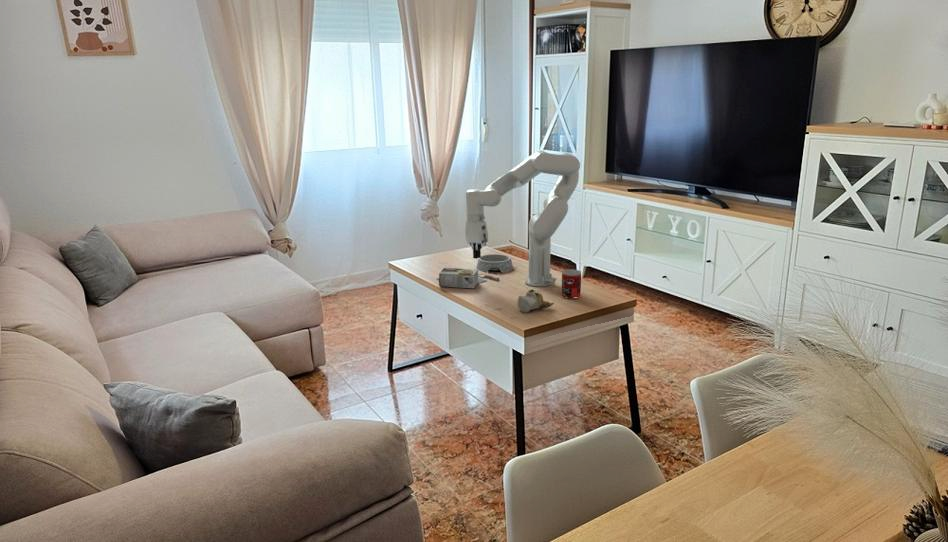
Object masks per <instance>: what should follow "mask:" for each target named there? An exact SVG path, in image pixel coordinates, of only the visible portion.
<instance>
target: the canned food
mask: <svg viewBox="0 0 948 542" xmlns="http://www.w3.org/2000/svg"><path fill="white" fill-rule="evenodd" d="M561 272H562V273H561V297H562V296H563V297H567V298H574V297H579V296H580V297H581V291H582V271H581V270H579V269H572V268H571V269H570V268H569V269H563V270H562V271H561ZM563 297H562V298H563ZM580 297H579V298H580Z"/></svg>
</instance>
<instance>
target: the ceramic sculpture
mask: <svg viewBox="0 0 948 542" xmlns="http://www.w3.org/2000/svg"><path fill="white" fill-rule="evenodd" d="M554 304H555V303H554V302H549V301H545V300H544V297H543V294H542V293H541V292H539V291H536V290H534V289H530V290H528V291H527V292H526V294H525V295H523V296H522V295H519V296H518V298H517V308H518V309H519V310H520V311H521V312H522V313H525V314H526V313H529V312H530V311H532V310H533V311H534V310H535V309H536V310H538V309H549V308H550V307H552V306H553V305H554ZM536 310H535V311H536Z"/></svg>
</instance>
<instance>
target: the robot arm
mask: <svg viewBox="0 0 948 542" xmlns="http://www.w3.org/2000/svg"><path fill="white" fill-rule="evenodd" d="M580 168H581V162H580V160H579V159H578V157H576V156H575V155H573V154H571V153H568V152H565V153H564V152H563V153H562V154H556V153H550V152H546V151H544V150H538V151H535V152H534V153H532V154H531V155H529V156H528V157H527V158H526V159H524V160H523V161H522V162H521V163H520V162H519V164H517V166H515V167H514V168H512V169H511V170H509V171H508V172H506V173H505V174H503V175H502V176H500V177H498V178H497V179H495V181H492V182H491V183H490V184H489V185H487V186H486V187H485V188H484V190H482V189H480V188H471V189H468V190H466V192H465V200H466V201H465V203H466V205H465V206H466V221H465V240H466V243H467V244H468V245H470V246H471V250H472V256H473V259H475V260H476V259H477V260H478V258H480V257H481V256H482V254H481V253H482V252H481V250H482V248H484V247H486V246H487V243H488V242H489V234H488V226H487V223H486V222H487V221H486V220H485V219H486V216H485V212H484V211H485V209H484V208H485V207H489V208H490V207H497V206H499V205H500V203H501V202H502V197H504V195H506V194H507V193H508V192H510V191H512V190H513V189H517V188H521V187H523V186H525V185H527V184H528V183H529V182H530V181H532V180H533V179H534V178H535V177H537V176H538V175H540V174H548V175H553V176H554V175H556V176H558V179H557V181H556V183H555V184H554V186H553V188H552V189H551V191H550V192H549V193H548V195H547V196H546V198H545V199H544V201H543V203H542V204H543V210H542V212H541V213H536V214H534V215H533V216H531V218H530V219H529V222H528V244H529V245H528V277H526V278H525V280H524V281H525V284H526V285H528V286H531V287H538V288H539V287H548V286H551V285H553V284H555V283H556V281H557V278H556V277H553V274H552V273H551V245H552V244H551V243H552V242H551V240H552V239H551V238H552V237H553V235H554V234H555V233H556V231H557V230H558V228H559V227H560V226H561V224H562V222H563V221H564V219H565V218H566V216H567V215H568V213H569V205H568V204H569V203H568V202H569V200H570V199H571V197H572V196H573V193H574V191H575V190H576V188H577V186H578V184H579V178H580Z"/></svg>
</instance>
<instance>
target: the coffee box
mask: <svg viewBox="0 0 948 542" xmlns="http://www.w3.org/2000/svg"><path fill="white" fill-rule="evenodd" d="M478 272H479V270H478V269H476V268H475V269H473V268H471V269H470V268H458V267H457V268H453V267H451V268H450V267H444V268H443V269H442V270H441V271H440V272H439V273H438V278H439V280H438V285H439V287H444V288H445V287H447V288H448V287H449V288H461V289H475V287H476V286H477V285H478V284H477V283H478V278H479V277H478Z"/></svg>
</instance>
